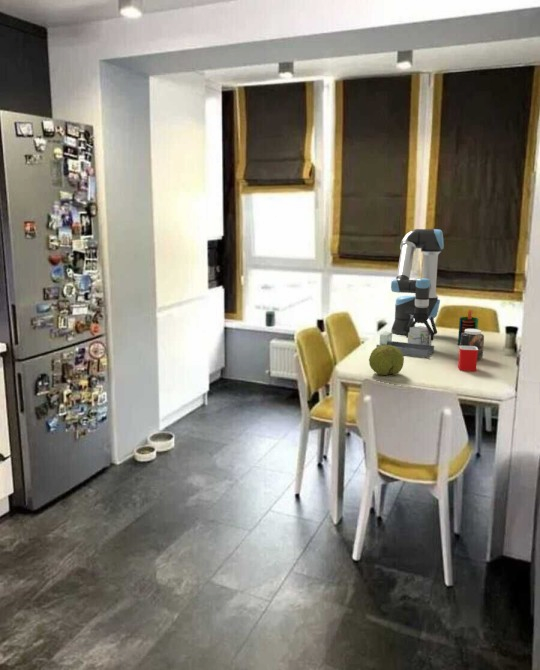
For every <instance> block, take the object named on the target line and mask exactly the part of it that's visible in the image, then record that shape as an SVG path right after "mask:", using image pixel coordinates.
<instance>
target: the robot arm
mask: <svg viewBox="0 0 540 670" xmlns="http://www.w3.org/2000/svg"><path fill="white" fill-rule="evenodd" d="M443 234H444V232H443V231H442V230H441V229H437V228H414V229H412V230H410V231H409V232H407V233H406V234H405V235H404V236H403V237H402V239H401V242H400V244H399V249H400V255H399V260H398V265H397V266H398V267H397V271H396V272H397V273H396V278H393V279H391V282H390V290H391V292H393V293H398V294H399V293H402V294H404V293H405V294H407V293H408V294H414V295H404V296H403V295H402V296H399V297H397V298H396V299H395V305H394V308H395V309H394V321H393V324H392V327H391V331H390V332H392V334H394V335H401V336H405V337H406V338H407V343H409V334H410V327H416V324H424V325H425V327H427V329H428V330H429V332H430V335H429V345H430V346H432V342H433V341H434V337H435V335H437V334H438V330H437V326H436V323H435V318H437V316H438V313H439V308H440V302H441V300H440V299H439V296H438V295H437V293H436V291H437V290H436V289H437V276H438V275H437V274H438V263H439V262H438V261H439V254H440V253H442V250H444V249H445V248H444V247H445V246H444V244H445V243H444V235H443ZM416 249H420V251H421V253H422V271H421V272H422V273H421V277H420V278H417V279H410V278H411V271H412V266H413V259H414V253H415V252H416ZM428 320H429V321H430V323H429V322H428Z"/></svg>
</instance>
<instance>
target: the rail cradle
mask: <svg viewBox="0 0 540 670" xmlns="http://www.w3.org/2000/svg"><path fill="white" fill-rule="evenodd" d="M383 345H390V346H394V347H397V348H398V349H400V350H401V352H402V354H403V356H407V357H408V356H410V357H417V358H423V359H428V358H429V357H430V356H431V355H433V354H434V352H435V346H434V345H431V346H430V345H421V344H413V343H408V342H404V341H403V342H402V341H395V340H394V341H393V333H392V332H391V331H384V332H382V333H380V334H379V344H376V345H375V346H376V347H375V348H377V347H379V346H383Z"/></svg>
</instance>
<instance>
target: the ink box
mask: <svg viewBox="0 0 540 670" xmlns="http://www.w3.org/2000/svg"><path fill="white" fill-rule="evenodd" d="M429 335H430V332H429V330H428V329H427V327H426V326H424V325H419V326H417V325H415V327H410V334H409V343H413V344H421V345H429Z"/></svg>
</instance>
